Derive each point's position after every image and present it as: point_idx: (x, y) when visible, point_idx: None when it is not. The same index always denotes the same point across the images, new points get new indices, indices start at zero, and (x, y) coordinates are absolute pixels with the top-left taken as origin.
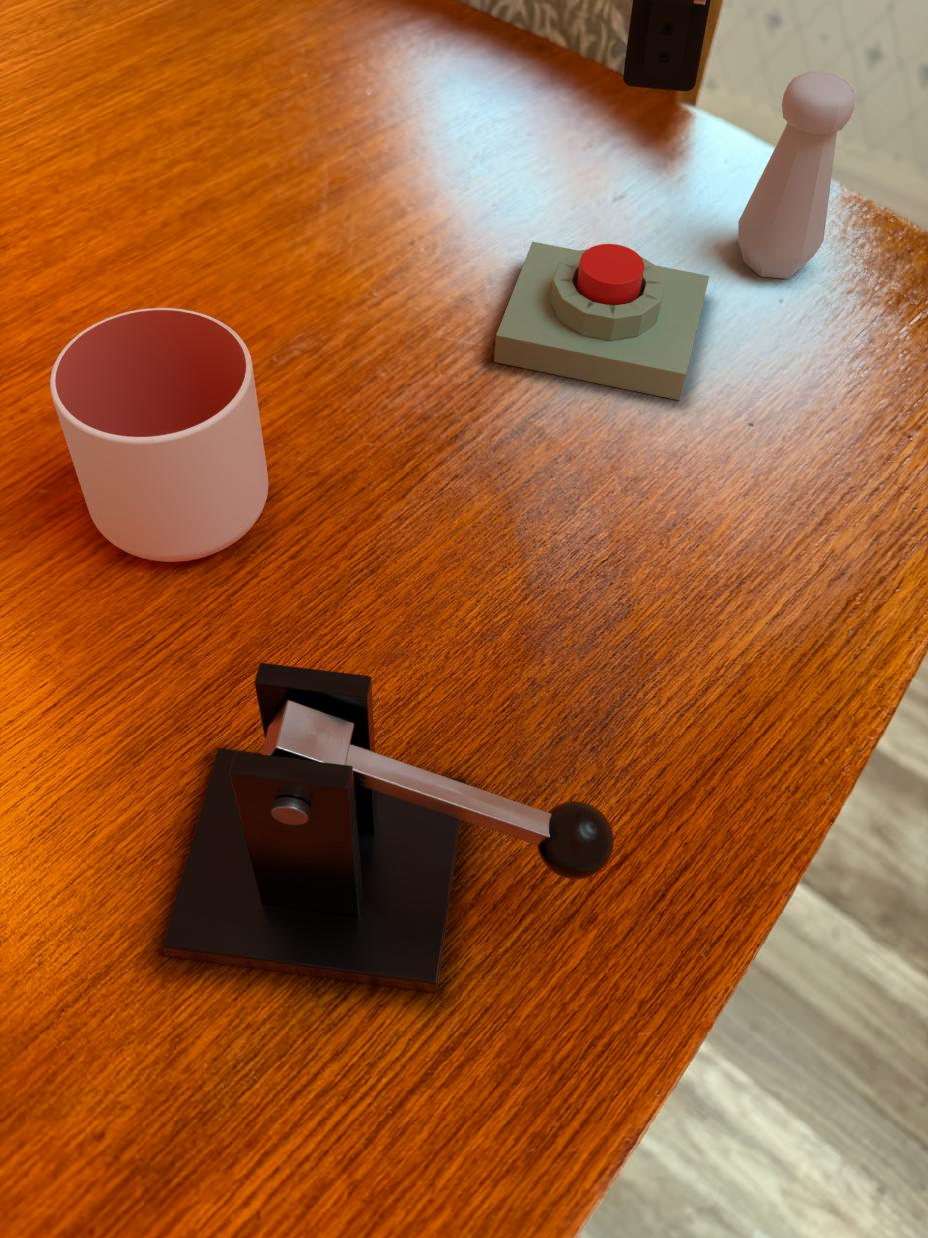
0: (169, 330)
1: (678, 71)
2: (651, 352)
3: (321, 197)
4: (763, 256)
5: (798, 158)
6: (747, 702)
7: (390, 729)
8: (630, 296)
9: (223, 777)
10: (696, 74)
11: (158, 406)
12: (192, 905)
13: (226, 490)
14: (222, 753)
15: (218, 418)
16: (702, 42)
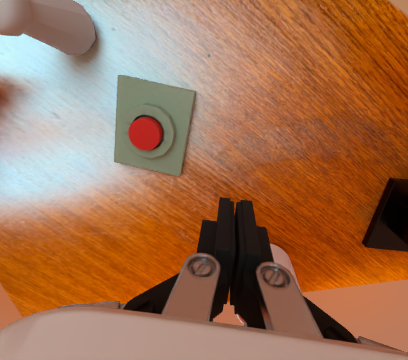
0: None
1: (265, 228)
2: (181, 109)
3: (97, 234)
4: (93, 40)
5: (45, 21)
6: (373, 71)
7: (359, 200)
8: (157, 123)
9: (376, 245)
10: (252, 206)
11: None
12: None
13: (289, 267)
14: (368, 246)
15: None
16: (255, 224)
